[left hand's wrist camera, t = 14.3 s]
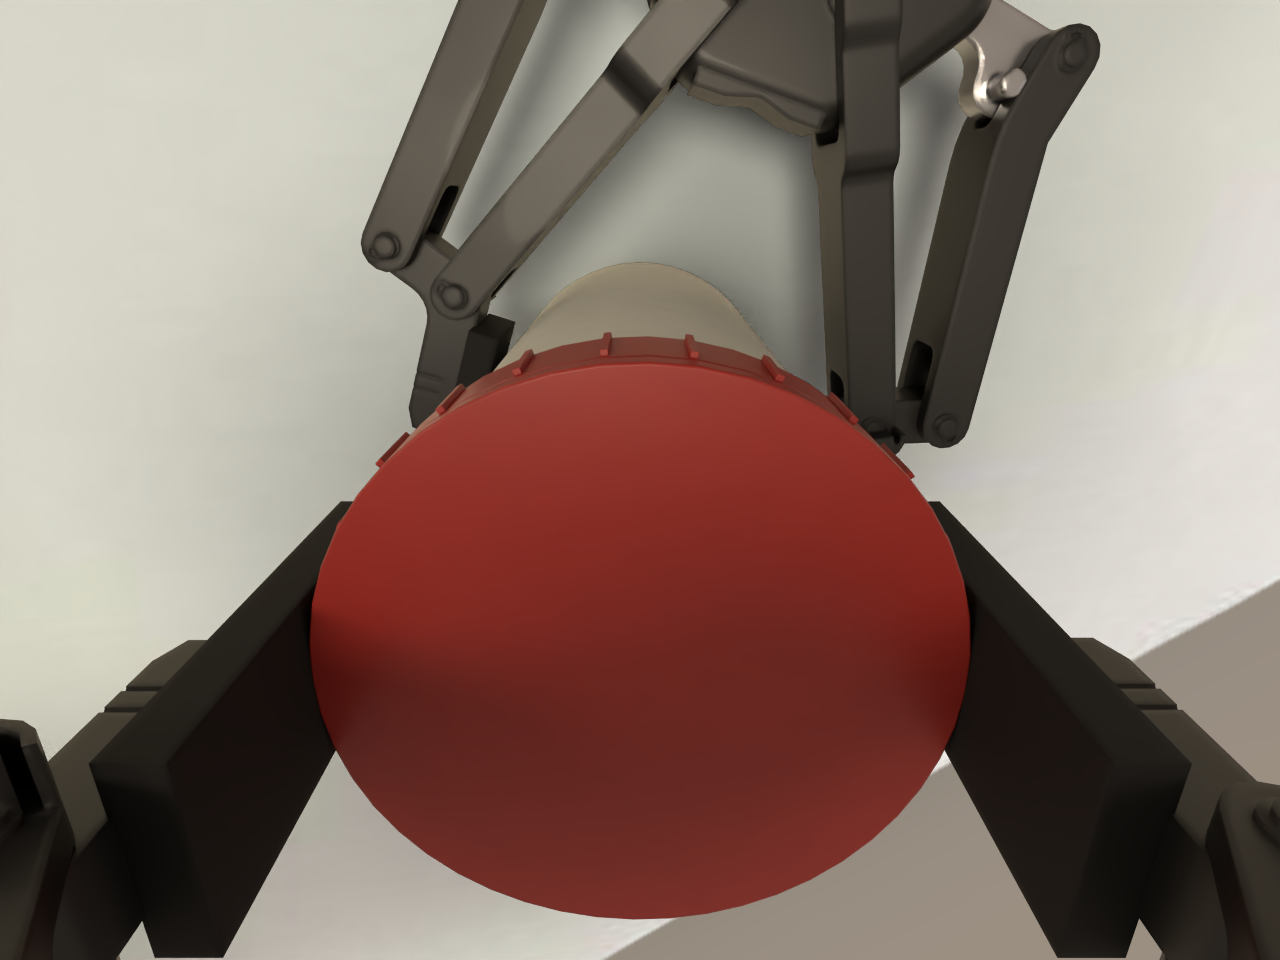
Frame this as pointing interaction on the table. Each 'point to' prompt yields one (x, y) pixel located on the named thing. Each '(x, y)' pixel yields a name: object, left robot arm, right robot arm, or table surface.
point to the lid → (640, 631)
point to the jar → (639, 312)
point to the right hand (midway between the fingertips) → (593, 579)
